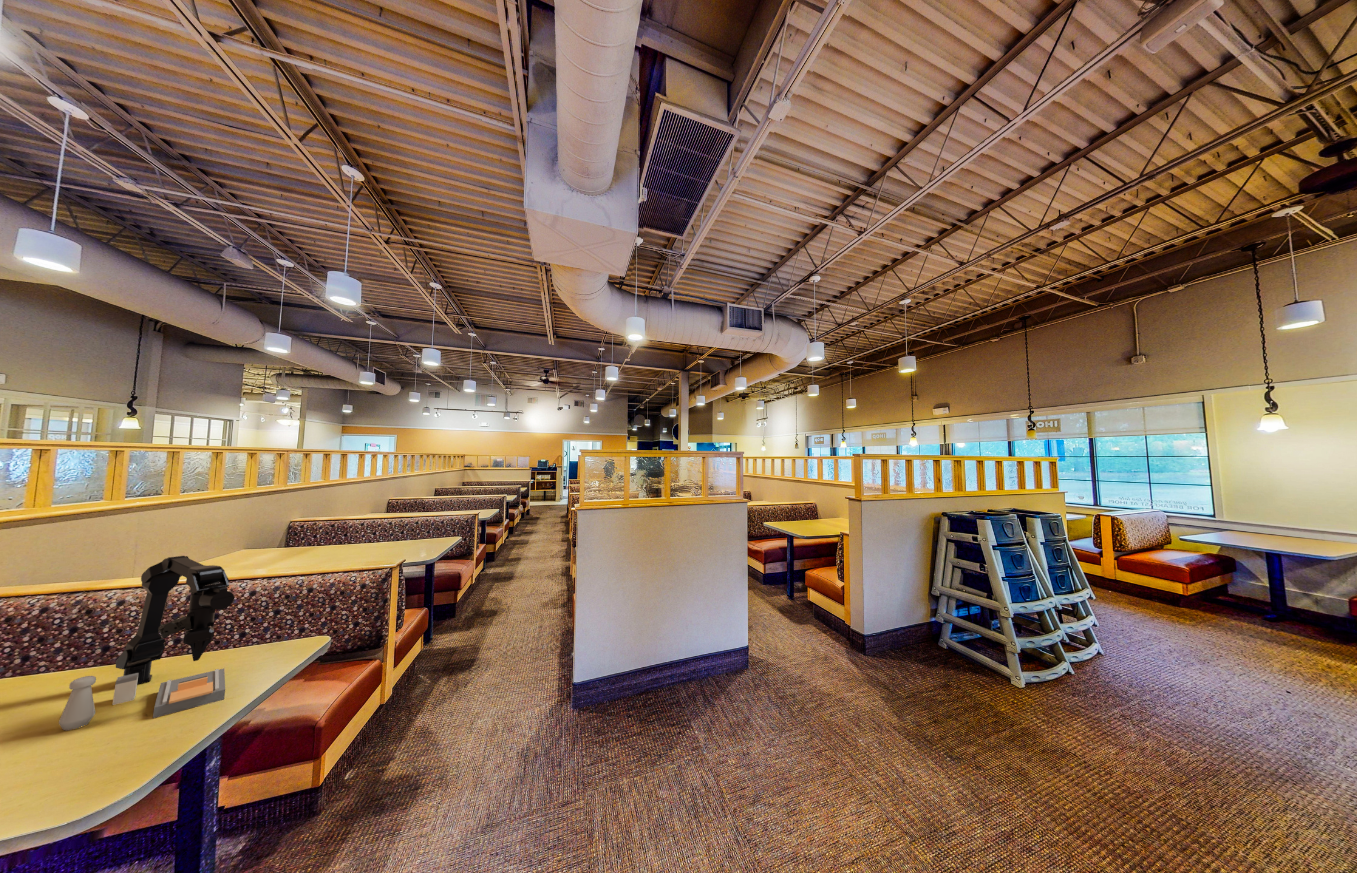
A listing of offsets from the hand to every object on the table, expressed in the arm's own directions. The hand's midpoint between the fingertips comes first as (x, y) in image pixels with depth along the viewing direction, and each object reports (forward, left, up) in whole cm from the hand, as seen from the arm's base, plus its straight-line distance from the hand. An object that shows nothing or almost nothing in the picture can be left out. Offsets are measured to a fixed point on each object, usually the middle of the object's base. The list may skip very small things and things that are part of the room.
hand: (196, 656), depth 132 cm
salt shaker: (-1, -21, -13) cm, 25 cm away
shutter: (+6, 0, -9) cm, 11 cm away
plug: (-14, -14, -12) cm, 23 cm away
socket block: (-2, 0, -12) cm, 13 cm away
